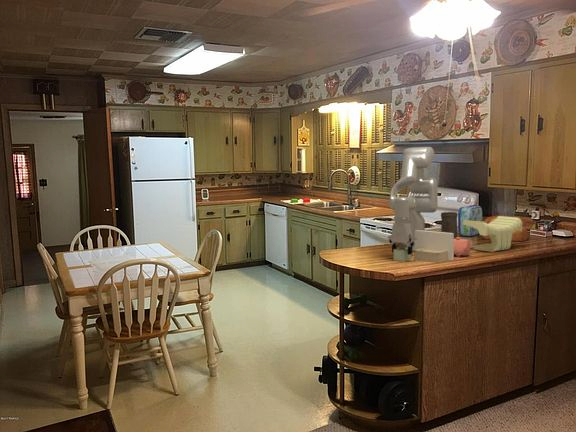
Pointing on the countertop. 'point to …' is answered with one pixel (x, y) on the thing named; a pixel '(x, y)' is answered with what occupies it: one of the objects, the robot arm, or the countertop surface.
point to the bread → (515, 236)
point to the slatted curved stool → (496, 232)
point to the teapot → (461, 247)
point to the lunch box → (469, 214)
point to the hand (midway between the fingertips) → (401, 253)
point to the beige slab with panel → (434, 246)
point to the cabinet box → (401, 254)
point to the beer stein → (449, 223)
